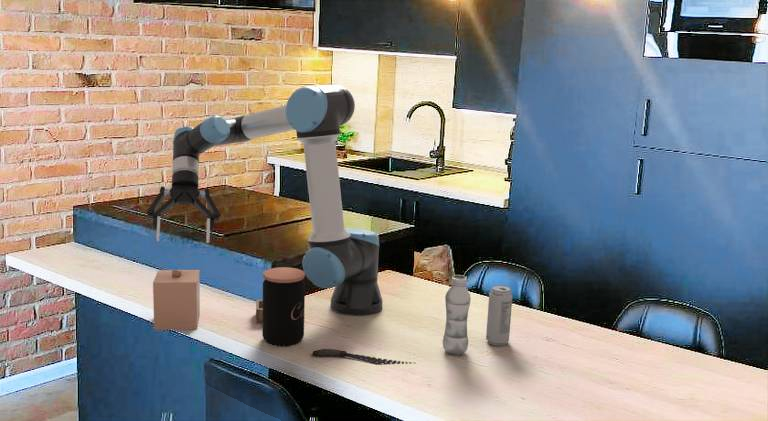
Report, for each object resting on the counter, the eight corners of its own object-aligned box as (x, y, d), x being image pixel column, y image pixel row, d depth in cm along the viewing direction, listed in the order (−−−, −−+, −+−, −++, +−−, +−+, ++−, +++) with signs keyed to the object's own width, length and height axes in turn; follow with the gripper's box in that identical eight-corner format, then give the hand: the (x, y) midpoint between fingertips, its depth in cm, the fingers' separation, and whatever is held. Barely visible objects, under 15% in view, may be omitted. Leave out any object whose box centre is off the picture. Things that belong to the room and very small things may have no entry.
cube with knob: (199, 314, 223) (199, 264, 220) (196, 329, 212) (196, 276, 209) (159, 315, 221) (157, 264, 218) (154, 329, 211) (152, 276, 207)
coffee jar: (296, 349, 201) (297, 281, 198) (256, 344, 203) (256, 277, 200) (309, 334, 212) (310, 269, 208) (270, 330, 214) (271, 265, 210)
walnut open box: (291, 312, 227) (291, 299, 226) (292, 322, 220) (293, 309, 219) (256, 313, 226) (256, 299, 225) (256, 323, 218) (256, 309, 217)
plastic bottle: (451, 359, 199) (455, 282, 195) (437, 349, 205) (441, 274, 201) (472, 355, 202) (477, 279, 198) (458, 345, 208) (462, 272, 204)
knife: (422, 376, 192) (425, 366, 197) (423, 369, 192) (425, 359, 196) (309, 361, 196) (314, 351, 201) (309, 354, 196) (315, 345, 201)
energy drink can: (495, 336, 216) (499, 283, 212) (513, 343, 212) (517, 288, 208) (481, 341, 212) (484, 287, 208) (499, 348, 207) (503, 293, 204)
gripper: (227, 184, 240) (227, 247, 230) (140, 180, 234) (136, 244, 223) (229, 171, 234) (229, 235, 223) (140, 166, 227) (136, 232, 217)
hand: (183, 240), depth 223 cm, fingers open, 13 cm apart
